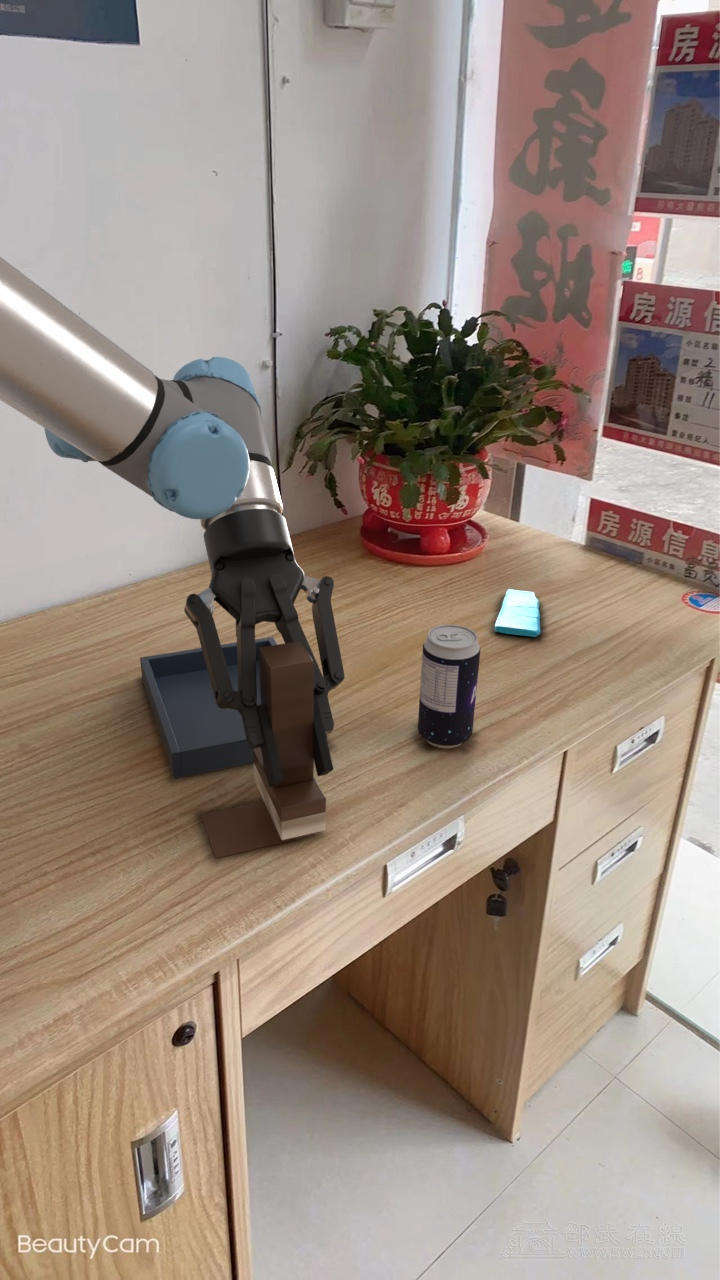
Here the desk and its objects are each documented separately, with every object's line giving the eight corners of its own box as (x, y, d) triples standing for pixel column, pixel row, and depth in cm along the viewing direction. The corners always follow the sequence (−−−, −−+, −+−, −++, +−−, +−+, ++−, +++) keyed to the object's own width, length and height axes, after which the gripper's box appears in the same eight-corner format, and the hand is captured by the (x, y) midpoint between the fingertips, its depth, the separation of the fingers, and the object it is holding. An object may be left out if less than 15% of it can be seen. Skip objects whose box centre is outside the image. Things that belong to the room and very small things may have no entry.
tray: (174, 779, 85) (171, 753, 83) (142, 680, 101) (139, 657, 100) (327, 747, 90) (327, 723, 89) (273, 658, 106) (273, 636, 105)
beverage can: (476, 752, 90) (487, 649, 84) (421, 753, 89) (428, 650, 84) (466, 721, 95) (475, 622, 89) (413, 722, 94) (419, 623, 89)
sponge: (549, 594, 121) (508, 584, 122) (540, 633, 111) (494, 622, 112) (547, 604, 122) (505, 594, 123) (537, 644, 112) (492, 632, 113)
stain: (215, 858, 75) (215, 857, 75) (200, 815, 80) (200, 814, 80) (315, 834, 78) (315, 834, 78) (295, 794, 83) (295, 794, 83)
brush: (325, 830, 76) (326, 676, 69) (281, 840, 75) (277, 685, 68) (295, 771, 84) (292, 626, 76) (254, 779, 82) (248, 633, 75)
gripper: (321, 530, 85) (380, 766, 80) (147, 551, 80) (197, 805, 74) (341, 495, 79) (406, 750, 73) (152, 515, 73) (207, 792, 67)
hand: (301, 777), depth 74 cm, fingers closed on brush, 4 cm apart
